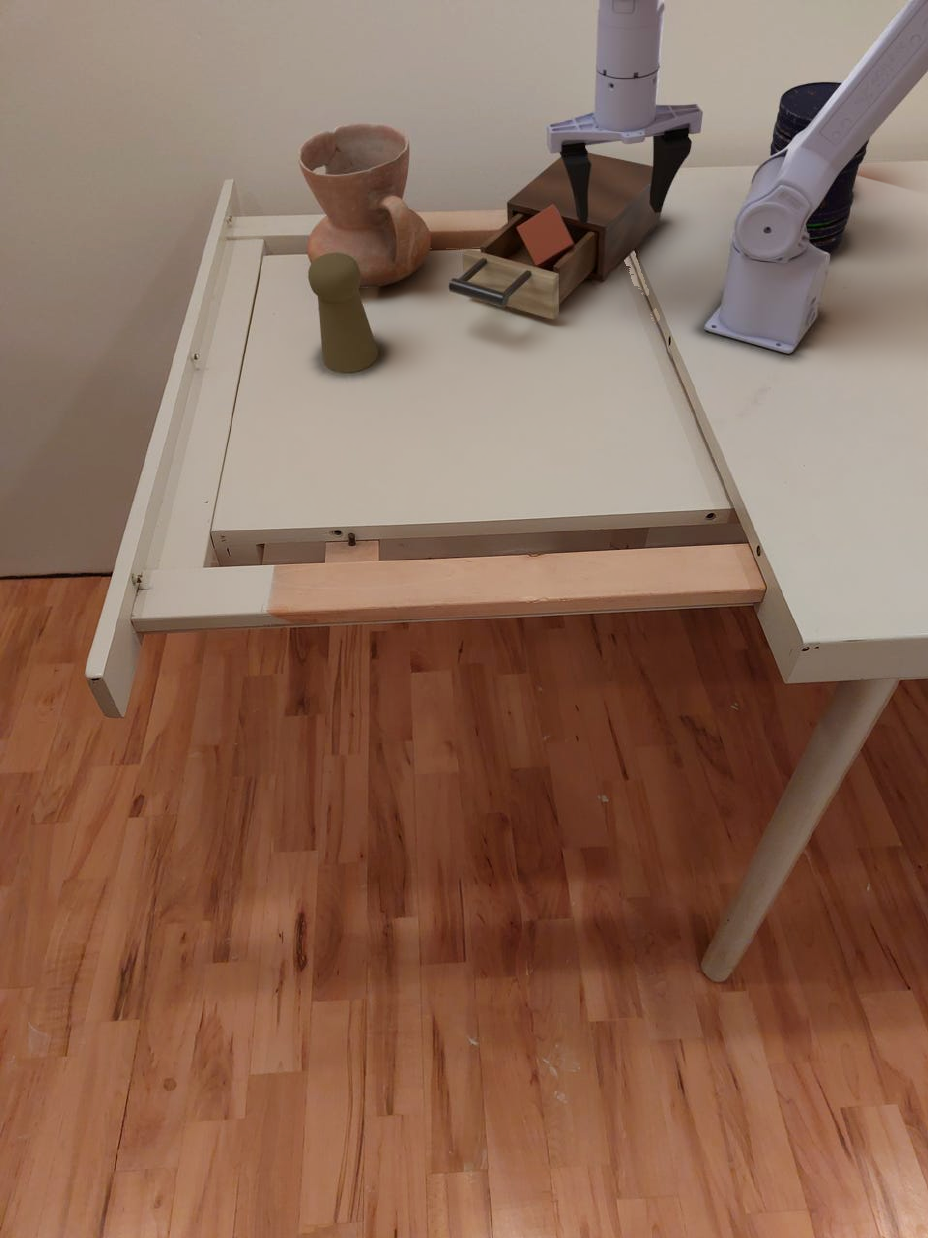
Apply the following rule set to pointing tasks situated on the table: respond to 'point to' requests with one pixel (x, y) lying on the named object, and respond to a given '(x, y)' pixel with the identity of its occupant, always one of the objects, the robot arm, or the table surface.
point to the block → (546, 237)
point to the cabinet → (598, 205)
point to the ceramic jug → (365, 201)
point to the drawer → (525, 270)
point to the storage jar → (835, 206)
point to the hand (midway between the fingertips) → (618, 213)
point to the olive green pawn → (342, 314)
